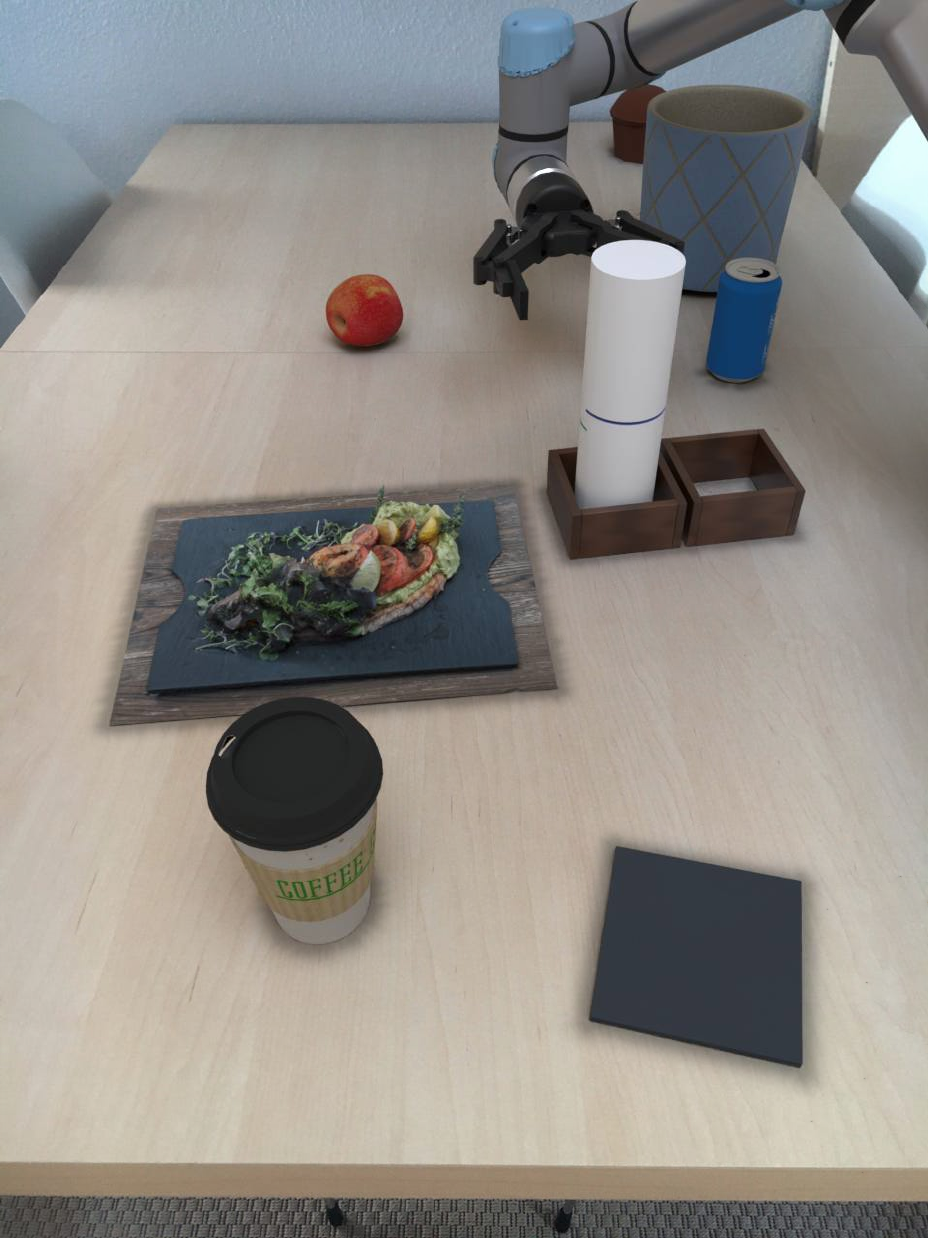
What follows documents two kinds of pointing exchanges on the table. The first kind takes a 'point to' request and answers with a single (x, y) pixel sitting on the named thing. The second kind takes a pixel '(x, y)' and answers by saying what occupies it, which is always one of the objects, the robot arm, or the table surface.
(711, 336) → the beverage can
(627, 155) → the muffin
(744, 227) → the planter
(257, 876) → the coffee cup
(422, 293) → the table surface
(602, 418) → the cylindrical container
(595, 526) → the stand
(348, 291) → the apple
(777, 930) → the mat
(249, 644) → the plated dish
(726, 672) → the table surface
